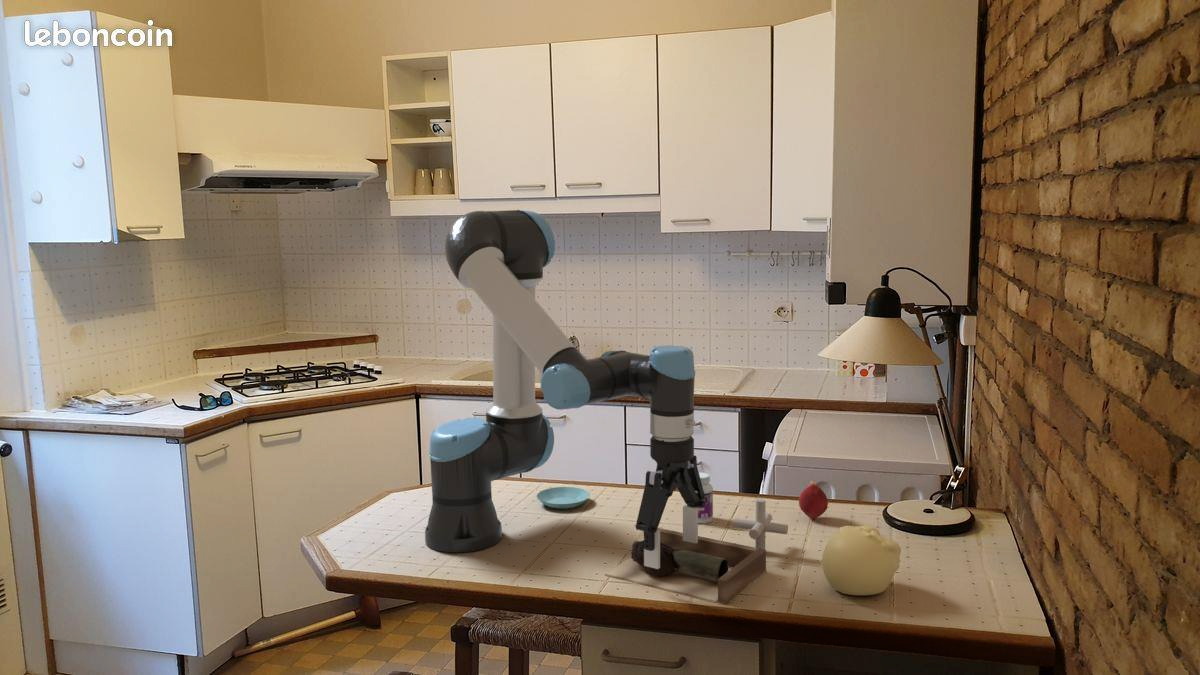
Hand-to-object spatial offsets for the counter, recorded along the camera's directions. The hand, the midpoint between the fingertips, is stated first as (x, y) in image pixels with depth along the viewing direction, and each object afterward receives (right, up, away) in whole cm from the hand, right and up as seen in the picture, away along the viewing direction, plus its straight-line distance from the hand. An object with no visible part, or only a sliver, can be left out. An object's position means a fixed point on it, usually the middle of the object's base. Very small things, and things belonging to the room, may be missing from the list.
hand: (671, 553), depth 158 cm
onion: (+32, 0, +28) cm, 42 cm away
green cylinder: (+1, -4, +1) cm, 4 cm away
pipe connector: (+18, -3, +12) cm, 21 cm away
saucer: (-21, +1, +42) cm, 47 cm away
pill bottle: (+8, 0, +30) cm, 31 cm away
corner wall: (+3, -4, +2) cm, 5 cm away
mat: (0, -4, 0) cm, 4 cm away
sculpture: (+31, -5, -6) cm, 32 cm away
